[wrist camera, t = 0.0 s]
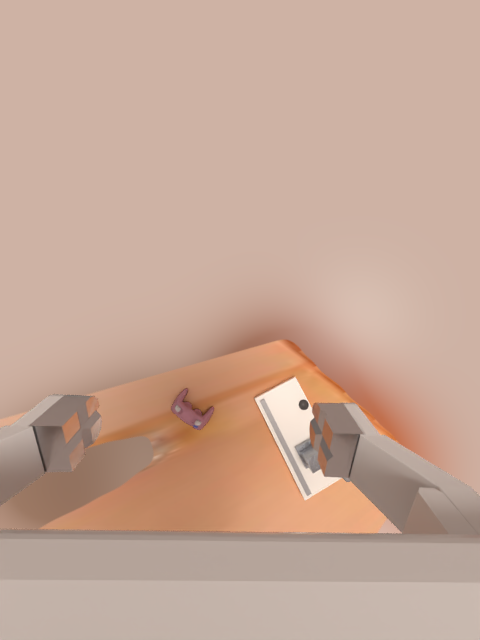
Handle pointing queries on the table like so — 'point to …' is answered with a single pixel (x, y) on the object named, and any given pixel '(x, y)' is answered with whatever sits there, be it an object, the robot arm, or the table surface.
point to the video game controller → (190, 412)
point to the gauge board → (292, 432)
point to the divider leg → (308, 456)
